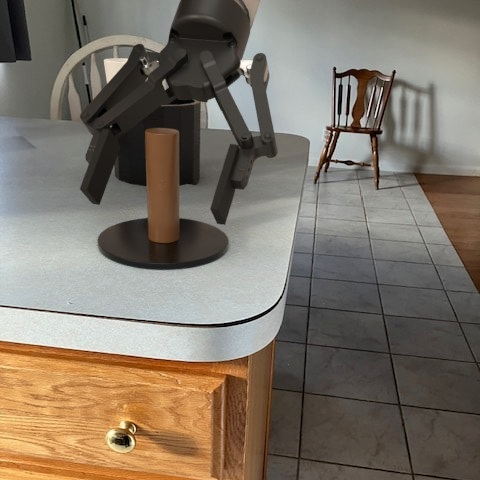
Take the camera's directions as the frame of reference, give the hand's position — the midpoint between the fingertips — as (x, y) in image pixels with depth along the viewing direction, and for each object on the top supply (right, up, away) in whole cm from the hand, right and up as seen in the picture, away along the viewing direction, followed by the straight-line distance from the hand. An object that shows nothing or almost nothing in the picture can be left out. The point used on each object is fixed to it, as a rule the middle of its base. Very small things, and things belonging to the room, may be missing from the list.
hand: (151, 207), depth 49 cm
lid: (+1, -3, +4) cm, 5 cm away
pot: (-4, +10, +27) cm, 29 cm away
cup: (-12, +26, +55) cm, 62 cm away
